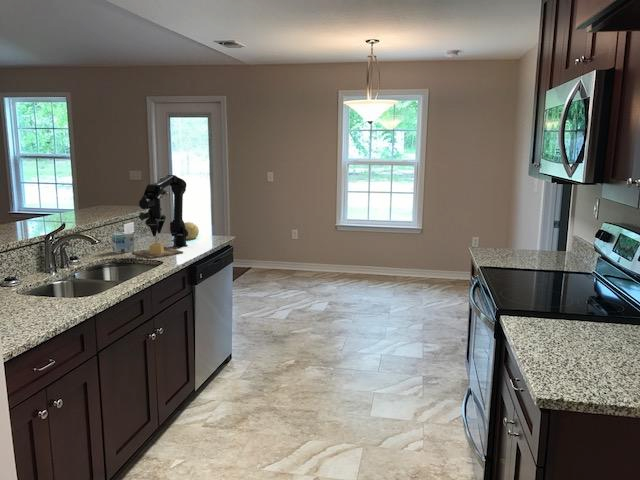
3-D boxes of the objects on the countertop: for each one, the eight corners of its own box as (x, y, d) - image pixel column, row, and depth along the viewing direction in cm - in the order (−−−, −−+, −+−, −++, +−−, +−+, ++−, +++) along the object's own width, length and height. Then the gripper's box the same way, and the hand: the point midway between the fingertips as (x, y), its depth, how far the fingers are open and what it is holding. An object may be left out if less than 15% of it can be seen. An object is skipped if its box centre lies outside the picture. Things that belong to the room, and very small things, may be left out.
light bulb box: (116, 253, 285) (115, 234, 283) (112, 251, 290) (111, 233, 288) (135, 251, 292) (134, 232, 290) (131, 249, 297) (130, 231, 295)
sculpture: (176, 239, 328) (176, 223, 326) (186, 236, 339) (186, 220, 337) (192, 240, 325) (191, 223, 323) (202, 237, 336) (201, 221, 334)
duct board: (164, 248, 300) (164, 246, 300) (183, 253, 287) (183, 251, 287) (132, 253, 286) (132, 251, 286) (150, 258, 273) (150, 257, 273)
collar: (153, 251, 286) (152, 242, 285) (164, 251, 286) (163, 242, 285) (150, 253, 280) (149, 245, 279) (161, 253, 280) (160, 245, 279)
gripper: (145, 204, 288) (146, 232, 291) (134, 209, 270) (136, 238, 273) (165, 204, 289) (166, 232, 292) (155, 209, 270) (157, 238, 273)
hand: (156, 234), depth 282 cm, fingers open, 9 cm apart
